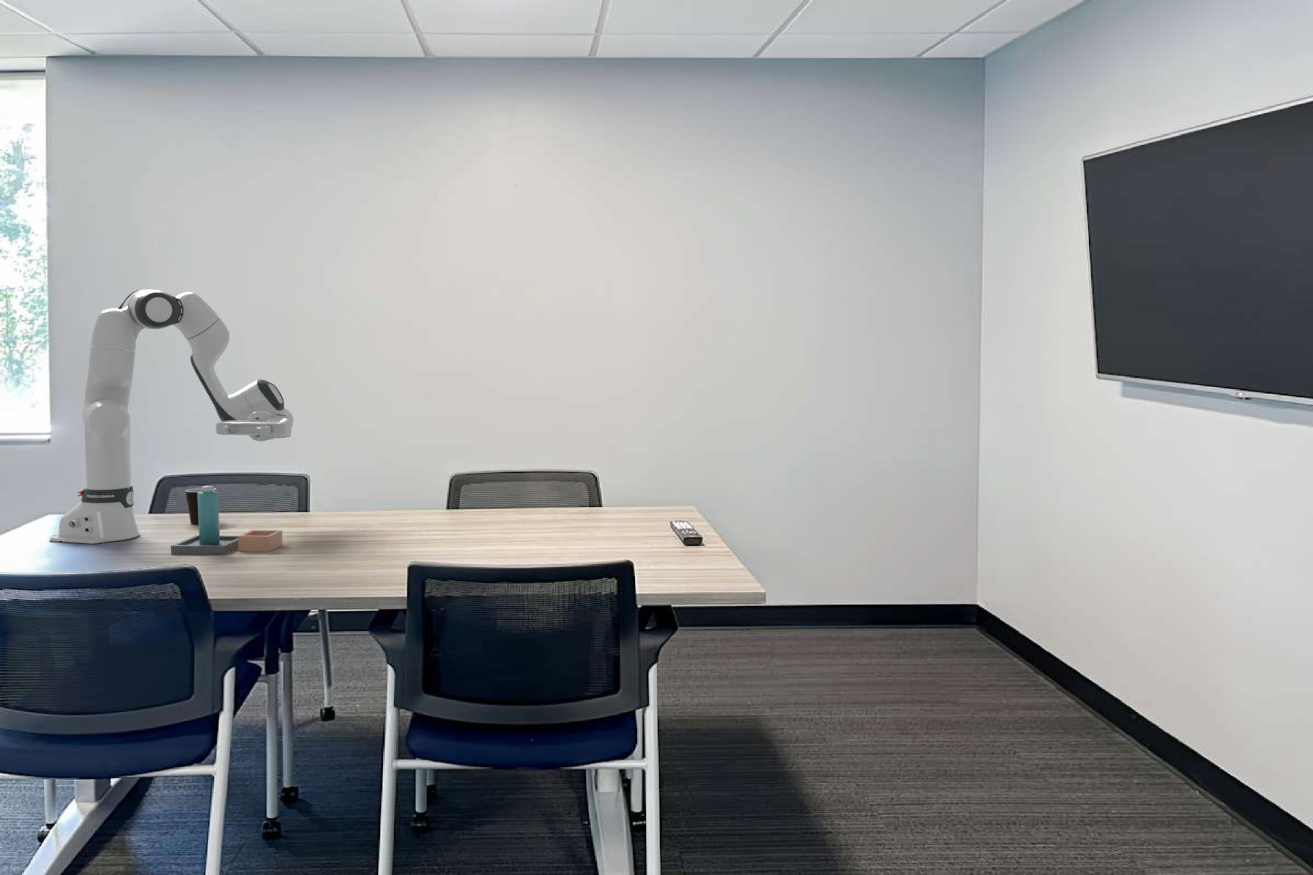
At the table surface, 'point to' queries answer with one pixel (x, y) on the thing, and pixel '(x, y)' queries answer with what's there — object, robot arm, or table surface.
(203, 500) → the bottle
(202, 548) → the tray
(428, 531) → the table surface
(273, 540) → the orange open box
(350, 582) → the table surface
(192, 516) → the coffee mug
